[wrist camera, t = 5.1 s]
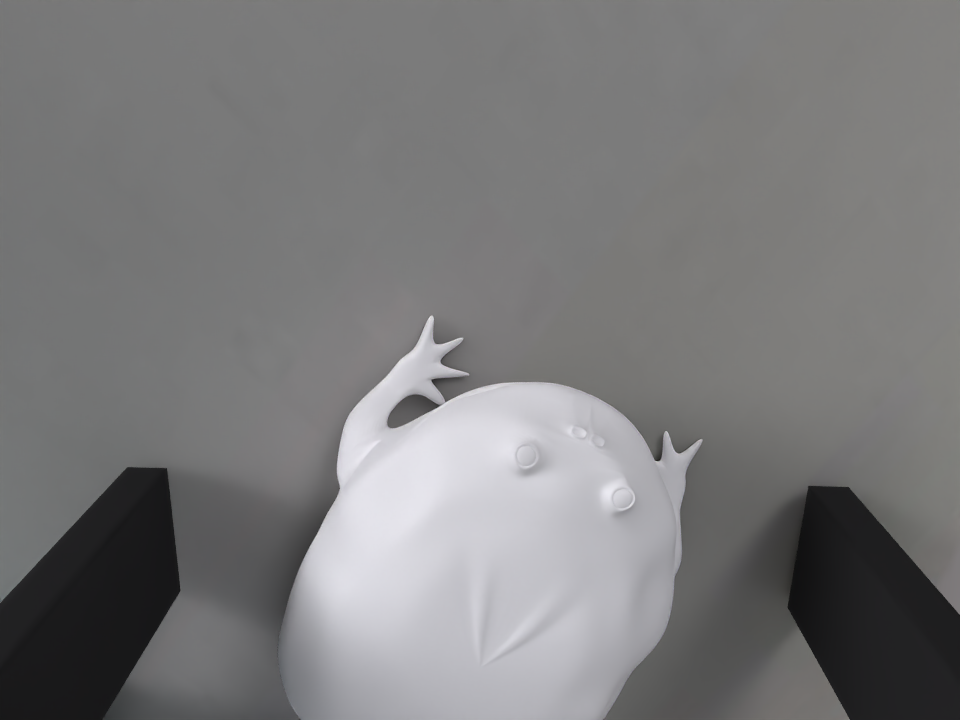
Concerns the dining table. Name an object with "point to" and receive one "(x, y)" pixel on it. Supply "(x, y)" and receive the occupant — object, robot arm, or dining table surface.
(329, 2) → the dining table surface
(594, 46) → the dining table surface
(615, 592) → the white frog figurine
